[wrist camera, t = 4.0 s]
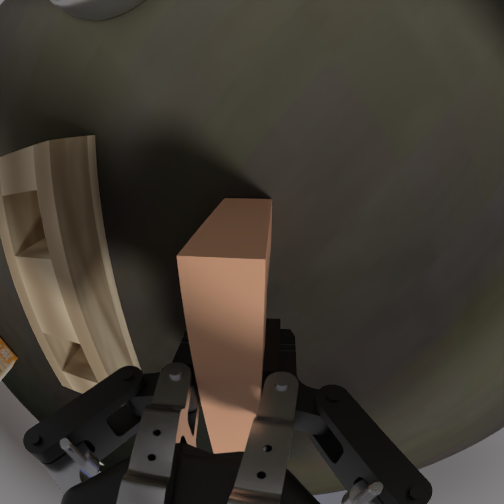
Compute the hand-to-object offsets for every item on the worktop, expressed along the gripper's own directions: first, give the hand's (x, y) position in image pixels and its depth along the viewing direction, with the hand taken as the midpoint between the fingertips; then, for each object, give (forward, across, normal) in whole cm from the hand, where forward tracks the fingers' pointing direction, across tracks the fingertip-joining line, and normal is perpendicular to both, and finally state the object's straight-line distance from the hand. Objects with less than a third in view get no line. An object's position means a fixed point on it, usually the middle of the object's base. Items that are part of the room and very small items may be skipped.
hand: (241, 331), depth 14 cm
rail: (+3, +12, -1) cm, 12 cm away
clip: (+3, 0, 0) cm, 3 cm away
